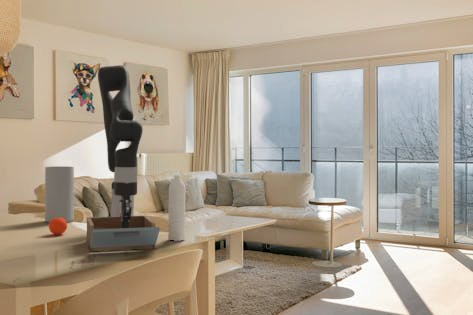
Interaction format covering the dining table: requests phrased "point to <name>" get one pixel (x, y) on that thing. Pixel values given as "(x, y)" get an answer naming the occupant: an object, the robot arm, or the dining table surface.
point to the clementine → (57, 226)
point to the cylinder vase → (59, 193)
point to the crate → (116, 224)
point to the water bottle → (177, 209)
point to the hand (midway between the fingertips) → (125, 232)
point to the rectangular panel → (124, 237)
